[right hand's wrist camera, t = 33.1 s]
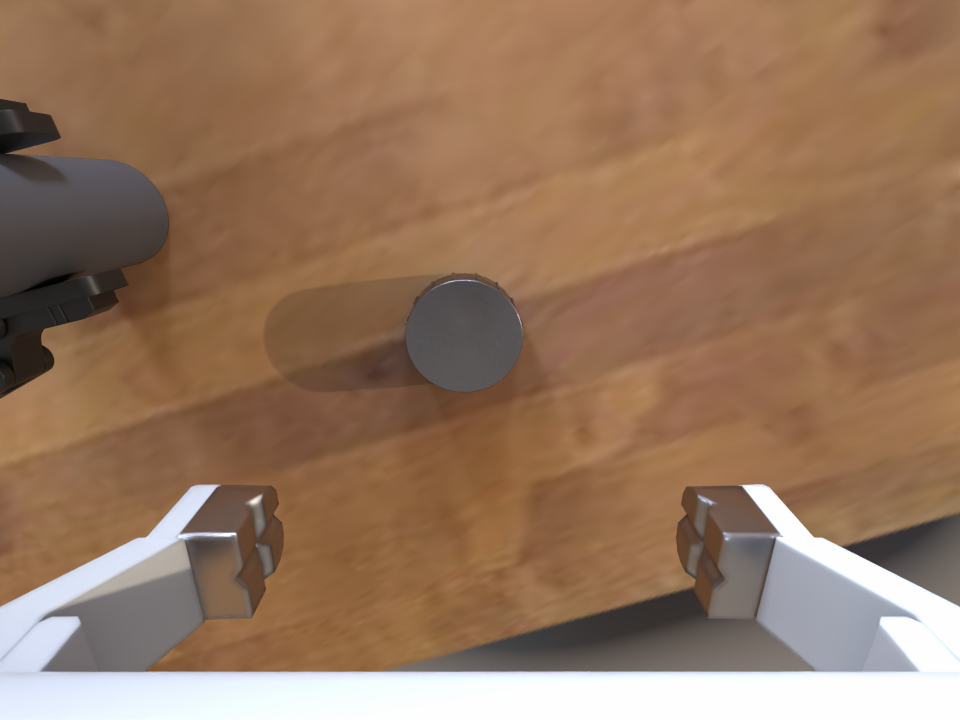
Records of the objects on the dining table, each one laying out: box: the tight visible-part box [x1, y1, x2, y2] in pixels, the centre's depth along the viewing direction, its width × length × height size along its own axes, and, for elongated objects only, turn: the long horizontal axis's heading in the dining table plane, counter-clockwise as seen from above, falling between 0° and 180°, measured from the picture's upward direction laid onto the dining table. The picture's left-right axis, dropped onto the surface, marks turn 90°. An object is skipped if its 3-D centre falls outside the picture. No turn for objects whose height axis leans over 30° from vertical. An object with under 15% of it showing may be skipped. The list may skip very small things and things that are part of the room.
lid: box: [406, 273, 523, 392], centre depth 26 cm, size 6×6×2 cm
